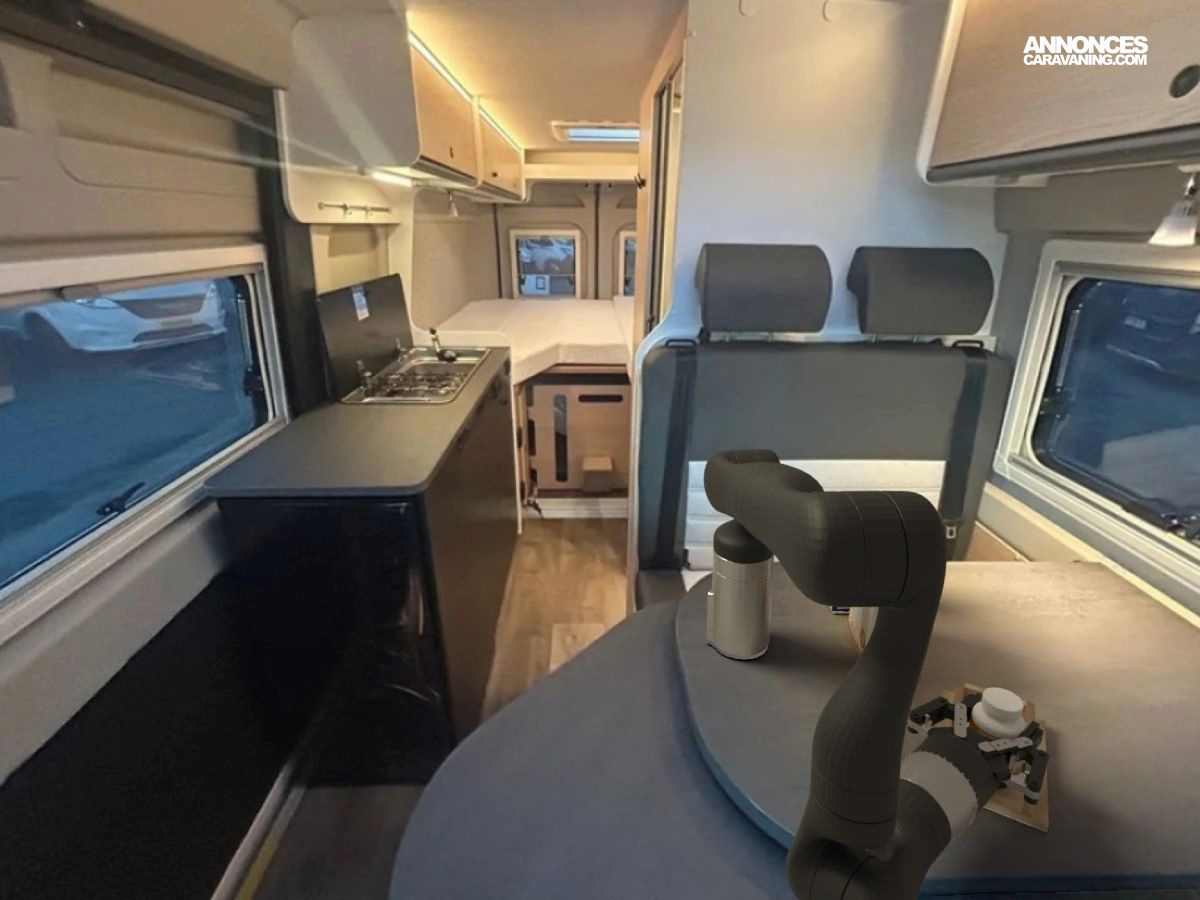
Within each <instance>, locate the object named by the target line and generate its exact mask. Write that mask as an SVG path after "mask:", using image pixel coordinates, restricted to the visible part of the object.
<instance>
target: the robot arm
mask: <svg viewBox="0 0 1200 900" xmlns="http://www.w3.org/2000/svg"><path fill="white" fill-rule="evenodd" d="M777 454H778V453H776V452H775V451H774V450H772V449H769V448H768V449H767V448H757V449H756V448H752V449H731V450H730V449H729V450H721V451H717V452H715V453H713V454H712V455H711V456H710V457H709V458H708V460H707V462H706V463H705V465H704V466H705V467H704V470H703V471H704V472H703V489H704V491H705V492H704V493H705V495H706V498H707V501H708V502H709V504H710V506H712V508H713V509H714V511H716V512H719V513H720V514H724V515H727V516H729V517H730V518H732V519H731V520H728V521H726V522H723V523H722V524H721V525H718V527H717V528H716V529H715V531H714V534H713V539H712V540H713V542H712V543H713V544H712V551H713V552H712V583H711V585H712V587H711V588H710V589H709V591H708V592H707V598H706V599H707V600H706V601H707V602H706V639H707V640H710V641H712V642H713V643H714V644H715V645H716V646H717V647H718V648H720V649H721V650H723V651H725V652H727V653H730V654H734V655H741V656H747V655H749V656H750V655H755V654H757V653H760V652H762V651H763V650H765V649H766V648H767V646H768V644H769V645H770V639H771V638H770V637H771V635H770V633H771V631H770V630H771V616H772V600H773V599H772V598H773V583H774V582H773V581H774V568H775V567H774V565H775V564H774V563H775V558H777V560H778V562H779V563H780V565H781V566H782V568H783V570H784V571H785V572H786V574H787V576H788V577H789V578H790V581H792V583H793V584H794V585H795V587H796V588H797V589H798V591H800V593H802V594H803V595H804V596H805V597H806V598H808V599H809V600H810V601H812V602H814V603H816V604H819V605H823V606H826V607H827V606H833V607H878V613H877V618H876V622H875V625H874V628H873V631H872V634H871V636H870V639H869V641H868V643H867V645H866V646H865V648H864V650H863V652H862V653H861V655H860V657H859V656H858V658H857V660H856V662H855V663H854V664H853V666H852V668H851V669H850V671H848V672H847V675H846V676H845V677H844V678H843V680H842V681H841V683H840V684H839V685H838V686H837V688H836V689H835V691H834V692H833V694H832V695H831V696H830V698H829V699H828V700H827V703H826V704H825V705H824V707H823V709H822V711H821V714H819V718H818V720H817V723H816V725H815V728H814V734H813V738H812V746H811V765H810V766H811V767H810V781H809V783H810V784H809V786H810V787H809V795H808V799H807V803H806V806H805V808H804V812H803V815H802V816H801V820H800V823H799V827H798V829H797V832H796V834H795V835H794V838H793V840H792V841H791V844H790V846H789V849H788V852H787V855H786V857H785V858H786V860H785V873H786V877H787V882H788V884H789V886H790V889H791V891H792V893H793V895H794V896H795V898H796V899H797V900H918V899H917V898H918V895H919V892H920V890H921V887H922V884H923V882H924V880H925V878H926V875H927V874H928V871H929V870H930V868H931V866H932V865H933V863H935V861H936V860H937V859H938V858H939V856H941V854H942V853H943V851H944V850H946V848H947V847H948V846H949V844H950V843H951V842H953V841H954V840H956V839H957V838H958V837H959V836H960V835H962V834H963V832H964V831H965V830H967V828H970V827H971V825H972V824H973V822H974V821H975V818H976V817H977V815H978V814H979V813H980V812H981V811H982V809H983V807H984V806H985V805H986V803H987V802H988V801H989V800H990V798H991V797H992V796H993V795H994V793H995V792H996V791H997V790H1000V789H1005V788H1007V787H1010V788H1012V789H1014V790H1016V791H1019V792H1021V793H1023V794H1024V800H1025V801H1026V802H1027V803H1029V804H1031V805H1036V804H1037V803H1038V799H1039V795H1040V791H1041V787H1042V783H1043V779H1044V775H1045V771H1046V767H1047V766H1048V763H1049V759H1050V754H1049V753H1048V752H1047V751H1046V752H1045V751H1044V750H1040V749H1037V747H1038V746H1039V745H1040V744H1041V741H1042V737H1043V730H1042V729H1040V724H1039V723H1037V722H1035V721H1032V722H1031V723H1030V724H1029V726H1028V727H1027V728H1026V729H1025V730H1024V731H1023V732H1022V734H1021V736H1020V737H1019V738H1016V739H1012V740H1010V739H1009V738H1003V739H1000V740H996V741H994V740H992V739H990V738H987V737H985V736H982V735H981V734H979V733H978V732H977V731H975V730H974V729H972V728H970V727H967V728H966V726H967V723H968V722H969V721H970V717H971V712H972V709H973V707H974V706H975V705H976V704H977V703H979V702H981V700H982V694H980V693H976V694H975V695H973V694H969V695H967V696H966V697H965V699H963V700H962V701H961V702H960V703H956V704H951V703H949V701H948V700H947V699H946V698H944V697H941V696H939V697H936V698H933V699H932V700H930V701H928V702H926V703H924V704H922V705H920V706H918V707H916V708H913V709H912V710H911V708H912V706H913V705H912V704H913V701H914V698H915V694H916V691H917V687H918V684H919V680H920V678H921V674H922V670H923V666H924V663H925V660H926V658H927V657H926V656H927V652H928V649H929V644H930V640H931V636H932V633H933V630H934V627H935V626H934V625H935V622H936V619H937V615H938V611H939V607H940V603H941V599H942V595H943V592H944V591H943V590H944V584H945V579H946V575H947V574H946V572H947V564H948V563H947V562H948V543H947V536H946V535H947V534H946V530H945V525H944V523H943V521H942V517H941V515H940V514H939V512H938V509H937V508H936V506H935V505H934V504H933V503H932V501H930V500H929V499H928V498H927V497H925V496H924V495H922V494H920V493H918V492H914V491H910V490H909V491H908V490H840V491H837V490H835V491H834V490H831V491H830V490H829V491H827V490H826V491H825V490H824V488H823V486H822V485H821V484H820V483H819V481H818V480H817V479H816V478H815V477H813V476H812V475H811V474H810V473H808V472H805V471H804V470H803V469H800V468H797V467H794V466H791V465H788V464H784V463H781V461H780V458H779V456H778V455H777ZM946 718H947V719H950V720H952V727H936V724H937V723H939V722H941V721H943V720H945V719H946ZM932 726H933V727H932ZM906 730H907V731H908V732H909V733H910V734H913V735H914V734H915V735H916V734H921V736H922V737H924V738H925V739H924V740H923V741H922V742H921V743H920V744H919V745H918V746H916V748H915V749H914V750H913V751H911V752H910V753H909V754H908V755H907V756H906V757H905V758H904V759H903V760H902V755H903V747H904V741H905V734H906ZM1025 762H1027V763H1028V764H1029V765H1031V766H1032V767H1031V770H1030V772H1029V771H1027V770H1025V771H1024V773H1020V774H1019V775H1018V776H1014V775H1011V771H1010V770H1011V769H1012V768H1013V767H1014V766H1015V765H1018V764H1022V763H1025Z"/></svg>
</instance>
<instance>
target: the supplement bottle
mask: <svg viewBox="0 0 1200 900" xmlns="http://www.w3.org/2000/svg"><path fill="white" fill-rule="evenodd" d="M985 689H986V690H984V692H983V695H982V700H981V702H979V703H977V704H976V705H975V706H974V707H973V709H972V712H971V717H970V722H969V727H970V728H972V729H974V730H975V731H977V732H978V733H979V734H981V735H982V736H985V737H987V738H990V739H992V740H994V741H996V740H1000V739H1003V738H1009V739H1010V740H1012V739H1016V738H1019V737H1020V736H1021V734H1022V732H1023V731H1024V730H1025V729H1026V724H1025V721H1024V719H1023V718H1022V712H1023V707H1024V705H1023V702H1022V700H1023V699H1022V698H1020V696H1018V695H1017V694H1015V693H1014V692H1012V691H1010V690H1007V689H1005V688H1001V687H987V688H985ZM1016 768H1017V765H1015V766H1014V767H1013V768H1012V769H1011V770H1010V771H1011V775H1015V772H1016Z"/></svg>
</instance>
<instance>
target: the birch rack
mask: <svg viewBox="0 0 1200 900" xmlns="http://www.w3.org/2000/svg"><path fill="white" fill-rule="evenodd" d="M986 689H987V688H984V687H981V686H977V685H974V684H970V683H967V682H965V681H964V682H963V681H961V680H956V683H955V688H954V691H950V690H947V689H944V688H942V690H941V696H940V697H944V698H946V699H947V700H948V701H949V703H951V704H956V703H960V702H961V701H962V700H963V699H965V697H966V696H967V695H969V694H973V695H975V694H976V693H980V694H982V695H983V692H984V690H986ZM1021 700H1022V702H1023V705H1024V707H1023V712H1022V718H1023V719H1024V721H1025V724H1026V728H1027V727H1028V726H1029V724H1030V723H1031V722H1032V721H1035V722H1037V723H1039V724H1040V729H1042V730H1043V737H1042V741H1041V744H1040V745H1039V746H1038V747H1037V749H1040V750H1044V751H1045V752H1047V744H1046V742H1047V741H1046V739H1047V738H1046V720H1044V719H1041V718H1038V717H1036V704H1035V703H1034V702H1031V701H1027V700H1025V699H1021ZM969 722H970V721H969ZM969 722H968V723H967V726H966V728H967V727H969ZM935 727H952V720H950V719H947V718H946V719H945V720H943V721H941V722H939V723H937V724H935ZM1031 767H1032V766H1031V765H1029V764H1028V763H1027V762H1025V763H1022V764H1018V765H1017V768H1016V772H1015V775H1014V776H1018V775H1019V774H1020V773H1024V771H1025V770H1027V771H1029V772H1030V770H1031ZM1048 795H1049V794H1048V768H1047V767H1046V771H1045V775H1044V779H1043V783H1042V787H1041V791H1040V795H1039V799H1038V803H1037V804H1036V805H1031V804H1029V803H1027V802H1026V801H1025V800H1024V794H1023V793H1021V792H1019V791H1016V790H1014V789H1012V788H1010V787H1007V788H1005V789H1000V790H997V791H996V792H995V793H994V795H993V796H992V797H991V798H990V800H989V801H988V802H987V803H986V805H985V806H984V807H987V808H990V809H992V810H995V811H998V812H1000V813H1002V814H1004V815H1008V816H1010V817H1012V818H1014V819H1018V820H1020V821H1022V822H1025V823H1028V824H1030V825H1032V826H1035V827H1037V828H1039V829H1042V830H1044V831H1046V832H1047V833H1048V831H1049V828H1050V823H1049V819H1050V818H1049V799H1048V798H1049V796H1048Z"/></svg>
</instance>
